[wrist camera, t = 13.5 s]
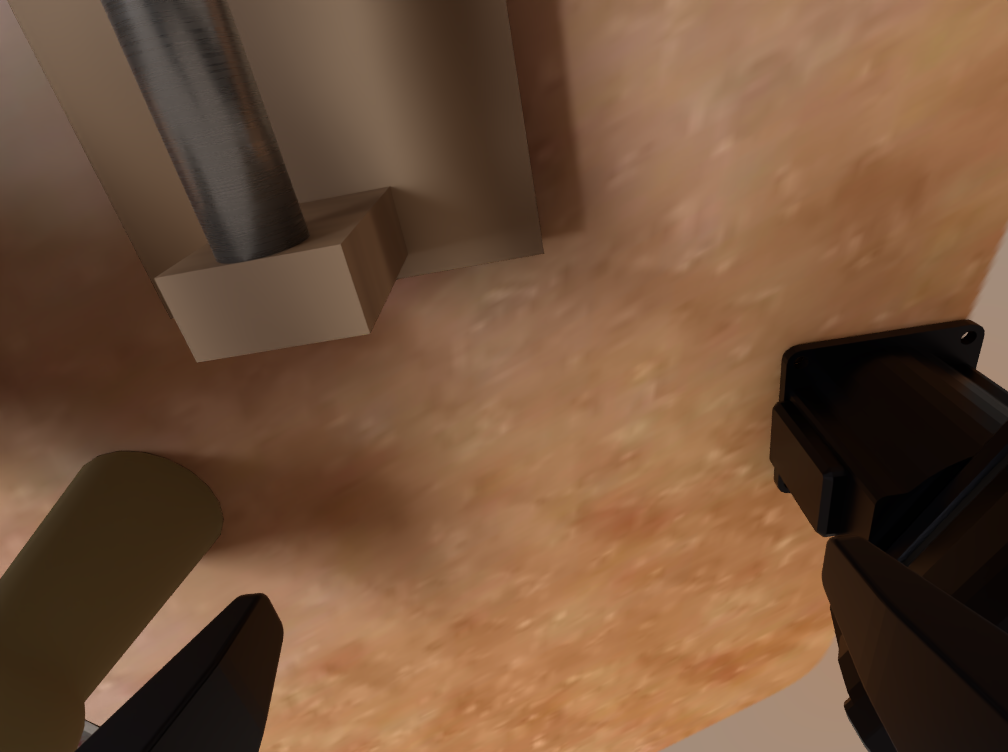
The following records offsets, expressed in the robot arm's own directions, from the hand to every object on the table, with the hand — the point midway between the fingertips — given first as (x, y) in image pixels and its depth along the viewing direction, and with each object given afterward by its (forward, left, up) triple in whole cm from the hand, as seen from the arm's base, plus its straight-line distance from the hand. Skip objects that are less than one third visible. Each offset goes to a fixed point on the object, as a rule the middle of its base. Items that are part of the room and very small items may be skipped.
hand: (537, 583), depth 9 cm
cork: (+17, +6, -12) cm, 22 cm away
